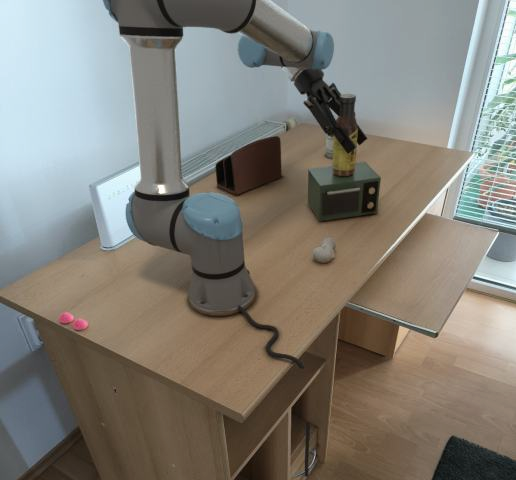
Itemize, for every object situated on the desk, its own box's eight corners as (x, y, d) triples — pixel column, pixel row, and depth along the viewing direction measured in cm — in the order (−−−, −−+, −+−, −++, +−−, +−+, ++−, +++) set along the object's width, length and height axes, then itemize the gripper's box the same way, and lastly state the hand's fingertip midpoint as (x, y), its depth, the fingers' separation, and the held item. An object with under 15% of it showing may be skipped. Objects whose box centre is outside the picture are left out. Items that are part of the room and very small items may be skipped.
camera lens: (325, 152, 182) (326, 129, 177) (343, 152, 182) (344, 129, 176) (325, 158, 178) (326, 135, 173) (343, 158, 177) (344, 135, 172)
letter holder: (282, 176, 168) (281, 133, 159) (236, 196, 158) (232, 150, 149) (262, 169, 174) (260, 126, 165) (216, 187, 164) (211, 143, 155)
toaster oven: (380, 218, 142) (384, 180, 135) (321, 227, 140) (322, 189, 133) (362, 197, 153) (365, 161, 146) (307, 205, 151) (308, 168, 144)
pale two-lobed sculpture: (324, 270, 126) (307, 260, 127) (339, 255, 131) (322, 245, 132) (330, 257, 123) (312, 247, 124) (344, 242, 127) (327, 232, 128)
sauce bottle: (354, 178, 138) (360, 100, 124) (330, 177, 139) (334, 99, 126) (355, 168, 142) (361, 92, 129) (333, 167, 143) (336, 92, 130)
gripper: (293, 70, 122) (351, 149, 125) (331, 53, 133) (383, 126, 137) (275, 92, 127) (331, 167, 131) (313, 73, 139) (363, 143, 142)
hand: (357, 146), depth 134 cm, fingers closed on sauce bottle, 6 cm apart
